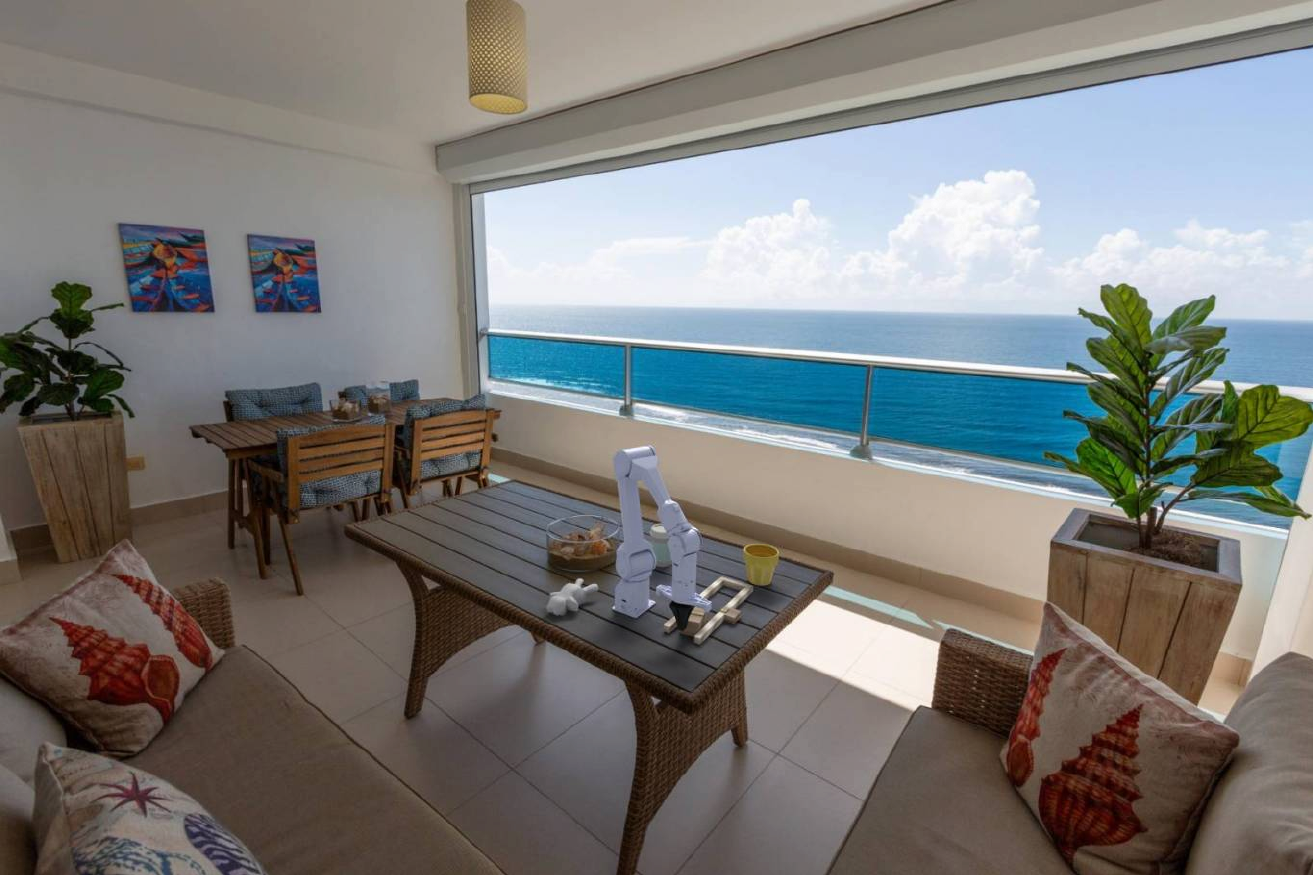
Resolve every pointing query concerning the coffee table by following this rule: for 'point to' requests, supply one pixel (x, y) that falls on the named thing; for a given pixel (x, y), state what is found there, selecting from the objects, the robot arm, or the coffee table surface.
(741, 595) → the beam slot
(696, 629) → the rider block
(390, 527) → the coffee table surface
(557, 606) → the bunny figurine
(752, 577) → the plant pot
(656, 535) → the coffee cup
